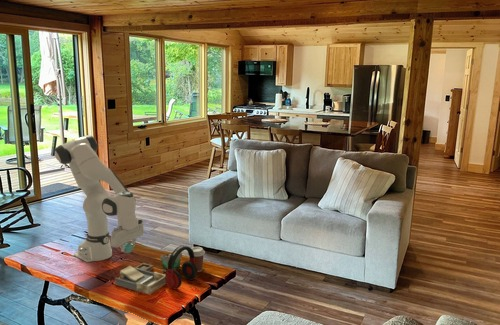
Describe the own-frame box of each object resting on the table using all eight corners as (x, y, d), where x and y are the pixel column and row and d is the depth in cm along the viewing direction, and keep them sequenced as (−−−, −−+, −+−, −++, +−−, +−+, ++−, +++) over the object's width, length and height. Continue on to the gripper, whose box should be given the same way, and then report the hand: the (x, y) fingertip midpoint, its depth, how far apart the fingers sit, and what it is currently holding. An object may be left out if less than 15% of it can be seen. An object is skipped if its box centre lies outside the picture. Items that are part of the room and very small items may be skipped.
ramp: (120, 277, 204) (119, 270, 203) (129, 272, 210) (129, 265, 209) (135, 282, 200) (134, 274, 199) (144, 276, 206) (144, 269, 205)
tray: (136, 290, 195) (136, 283, 195) (155, 279, 208) (154, 271, 207) (149, 294, 192) (149, 287, 191) (167, 282, 204) (167, 275, 204)
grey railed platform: (115, 284, 201) (114, 278, 201) (134, 273, 214) (134, 267, 213) (136, 290, 195) (136, 284, 195) (155, 279, 208) (155, 273, 207)
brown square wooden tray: (134, 271, 216) (134, 267, 216) (143, 266, 222) (143, 262, 222) (144, 274, 213) (144, 270, 213) (153, 268, 219) (153, 265, 219)
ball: (128, 255, 200) (128, 246, 199) (120, 253, 202) (120, 244, 201) (135, 252, 205) (135, 242, 204) (127, 250, 207) (127, 240, 206)
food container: (164, 276, 211) (164, 258, 209) (160, 272, 216) (159, 254, 214) (185, 271, 218) (185, 253, 216) (181, 266, 223) (181, 250, 221)
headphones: (177, 293, 194) (176, 255, 190) (162, 287, 199) (161, 250, 195) (200, 279, 208) (200, 243, 205) (185, 274, 214) (185, 239, 210)
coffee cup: (198, 274, 214) (198, 253, 211) (184, 270, 218) (184, 250, 216) (208, 268, 221) (208, 248, 219) (195, 264, 226) (194, 244, 224)
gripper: (116, 230, 190) (117, 258, 192) (145, 218, 208) (146, 243, 211) (106, 228, 193) (108, 255, 195) (136, 216, 211) (136, 241, 213)
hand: (128, 249), depth 203 cm, fingers closed on ball, 5 cm apart
